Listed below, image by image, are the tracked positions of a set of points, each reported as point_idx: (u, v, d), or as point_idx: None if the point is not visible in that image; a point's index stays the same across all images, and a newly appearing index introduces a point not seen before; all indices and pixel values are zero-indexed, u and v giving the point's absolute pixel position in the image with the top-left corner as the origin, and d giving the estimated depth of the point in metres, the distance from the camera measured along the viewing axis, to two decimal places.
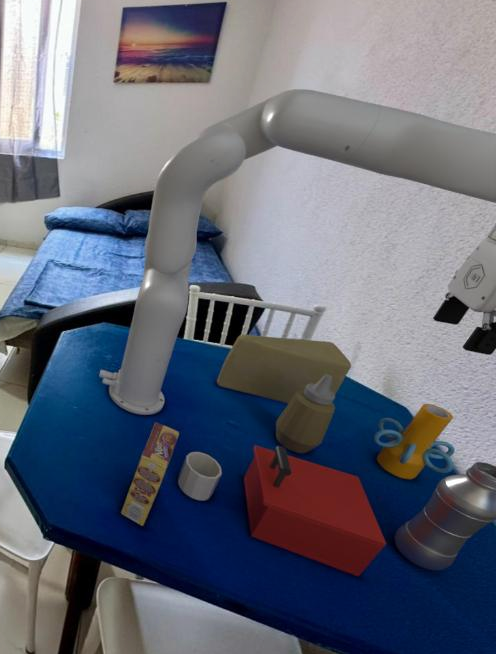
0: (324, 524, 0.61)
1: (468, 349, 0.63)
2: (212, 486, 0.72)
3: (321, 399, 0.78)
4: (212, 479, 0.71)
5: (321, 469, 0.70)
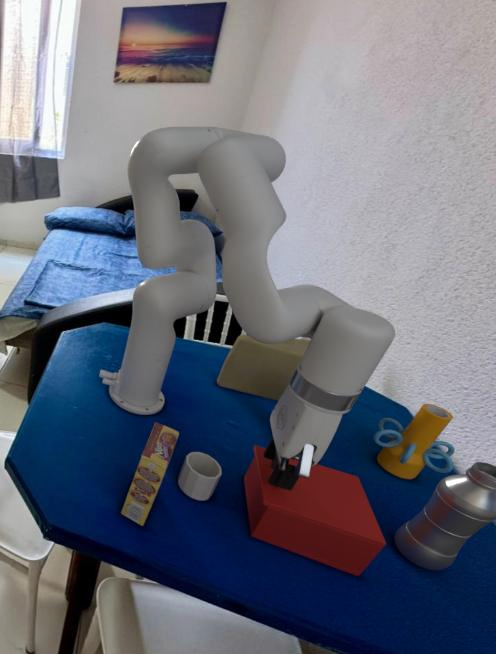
0: (324, 524, 0.61)
1: (272, 483, 0.66)
2: (212, 486, 0.72)
3: None
4: (212, 479, 0.71)
5: (321, 469, 0.70)
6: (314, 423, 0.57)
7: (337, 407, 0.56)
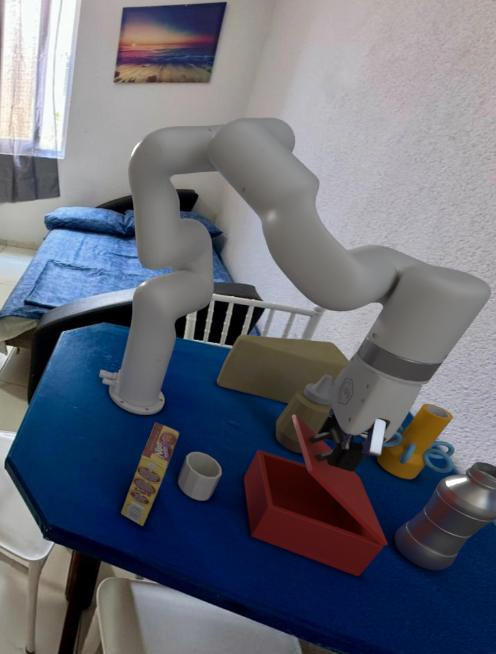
0: (349, 510, 0.59)
1: (331, 464, 0.60)
2: (212, 486, 0.72)
3: (321, 399, 0.78)
4: (212, 479, 0.71)
5: None
6: (389, 395, 0.52)
7: (416, 377, 0.51)
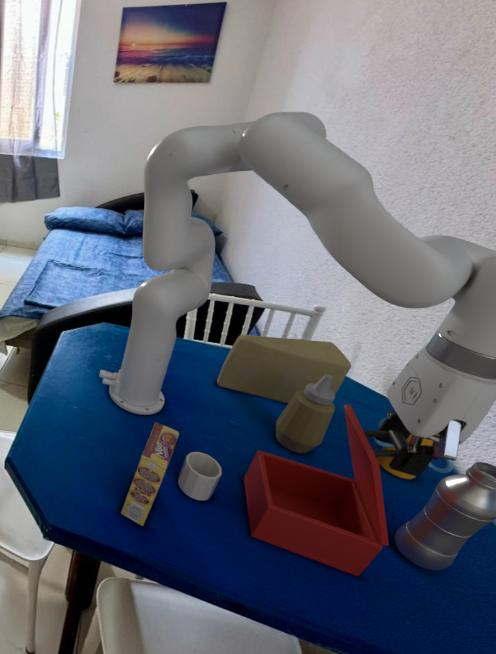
0: (380, 508, 0.57)
1: (394, 468, 0.57)
2: (212, 486, 0.72)
3: (321, 399, 0.78)
4: (212, 479, 0.71)
5: None
6: (466, 395, 0.48)
7: None
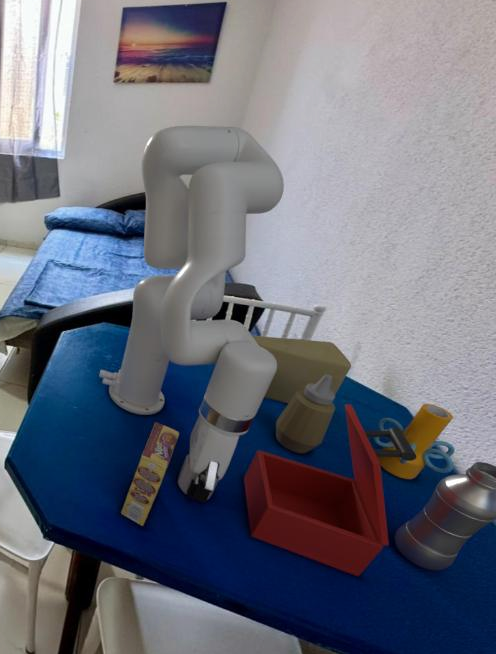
0: (381, 508, 0.57)
1: (189, 496, 0.73)
2: None
3: (321, 399, 0.78)
4: None
5: None
6: (215, 443, 0.65)
7: (234, 429, 0.64)
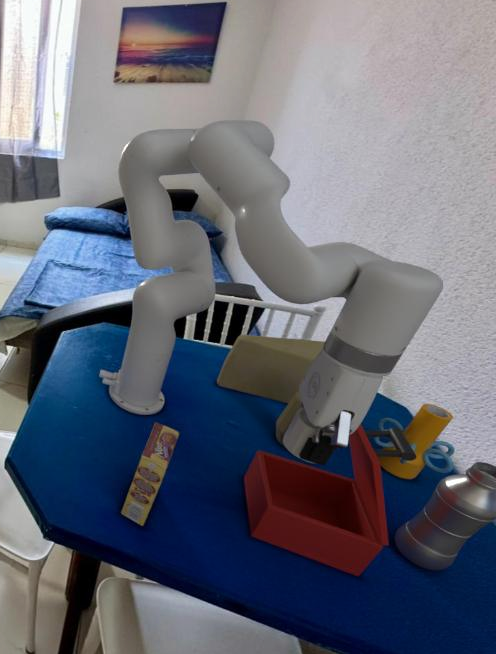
0: (381, 508, 0.57)
1: (303, 458, 0.61)
2: None
3: None
4: None
5: None
6: (352, 387, 0.53)
7: (377, 369, 0.52)
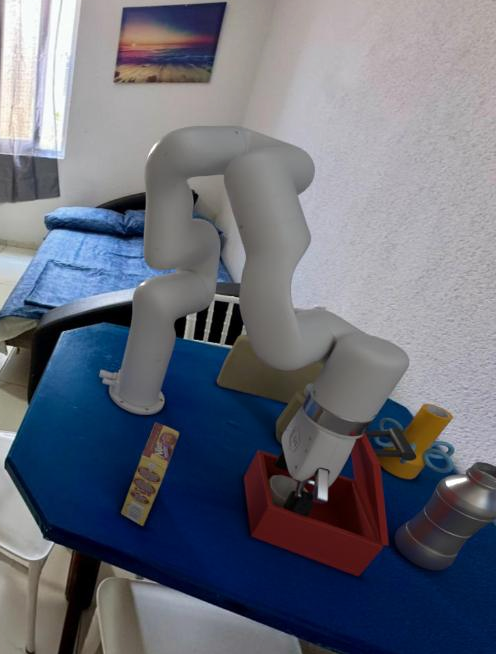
0: (381, 508, 0.57)
1: (287, 509, 0.65)
2: None
3: None
4: None
5: None
6: (327, 448, 0.58)
7: (350, 433, 0.57)
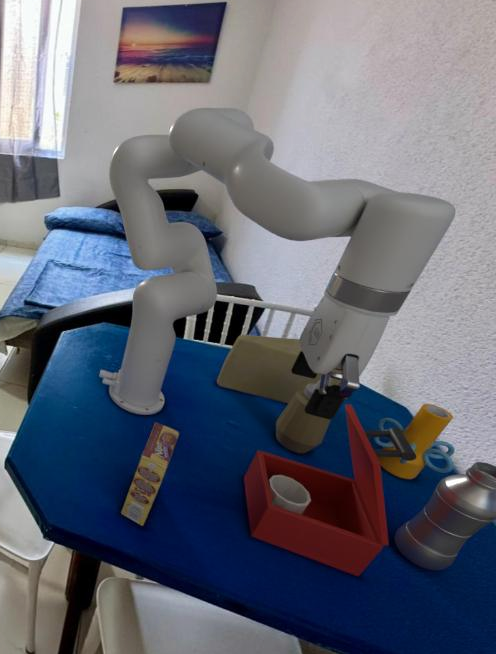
0: (381, 508, 0.57)
1: (309, 412, 0.57)
2: (300, 513, 0.67)
3: None
4: (302, 506, 0.66)
5: None
6: (356, 328, 0.50)
7: (384, 307, 0.49)
